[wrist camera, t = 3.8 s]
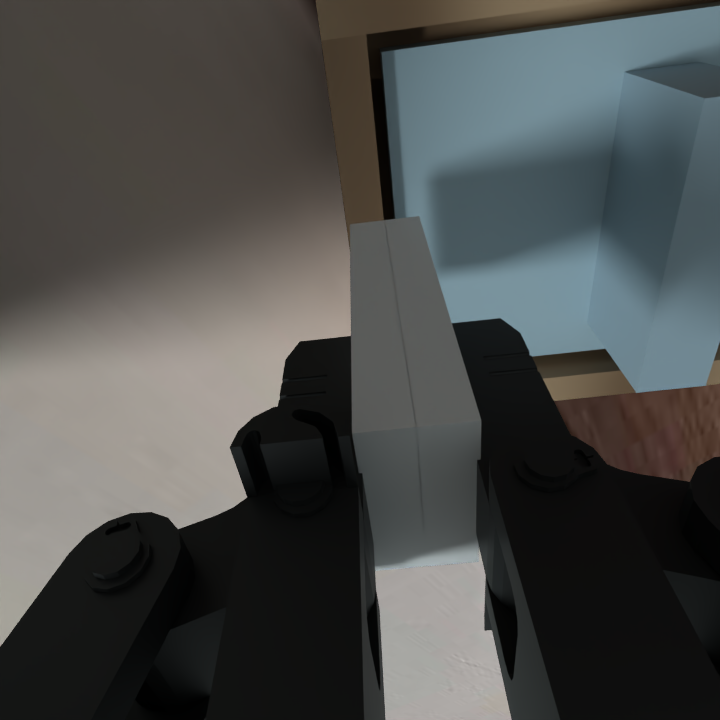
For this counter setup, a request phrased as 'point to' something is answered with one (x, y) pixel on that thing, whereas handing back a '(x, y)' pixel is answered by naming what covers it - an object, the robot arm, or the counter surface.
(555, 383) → the pencil box
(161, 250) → the counter surface
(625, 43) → the lid
